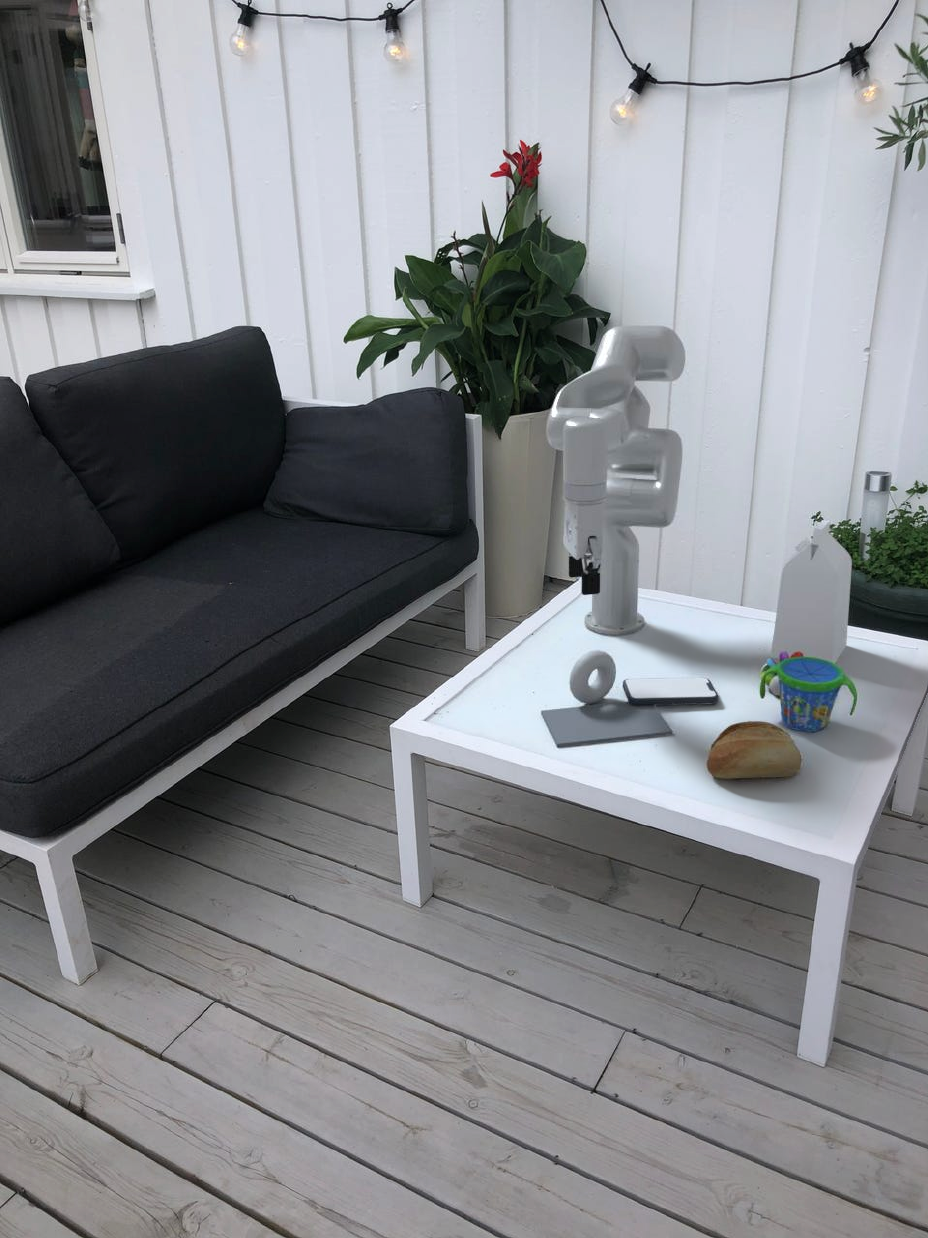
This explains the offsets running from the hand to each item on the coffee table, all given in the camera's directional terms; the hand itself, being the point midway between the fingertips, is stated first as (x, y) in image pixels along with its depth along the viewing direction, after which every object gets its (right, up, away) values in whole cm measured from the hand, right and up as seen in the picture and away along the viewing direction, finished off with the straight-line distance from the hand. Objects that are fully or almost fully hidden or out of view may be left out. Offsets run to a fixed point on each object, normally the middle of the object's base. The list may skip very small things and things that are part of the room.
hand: (583, 584), depth 180 cm
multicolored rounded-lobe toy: (+38, -19, +4) cm, 42 cm away
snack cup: (+37, -24, -9) cm, 45 cm away
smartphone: (+16, -20, +2) cm, 26 cm away
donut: (+2, -21, +1) cm, 21 cm away
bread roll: (+24, -31, -22) cm, 45 cm away
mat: (+3, -24, -6) cm, 25 cm away
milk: (+46, -13, +18) cm, 51 cm away
